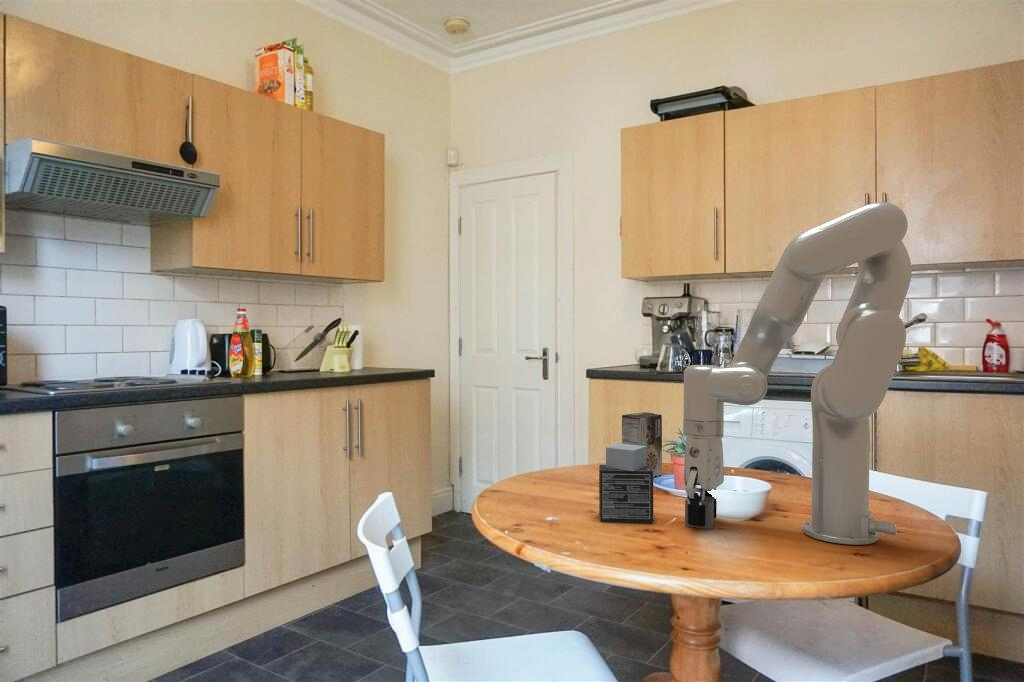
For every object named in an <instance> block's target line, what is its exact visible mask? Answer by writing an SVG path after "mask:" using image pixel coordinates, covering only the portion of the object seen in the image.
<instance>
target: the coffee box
mask: <svg viewBox="0 0 1024 682" xmlns="http://www.w3.org/2000/svg"><path fill="white" fill-rule="evenodd" d="M662 417H663V415H662V414H657V413H653V412H642V411H641V412H636V413H627V414H622V415H621V444H630V445H640V446H647V465H650V466H651V468H652V470H653V478H655V477H654V476H657V477H660V476H659V475H663V457H662V456H663V432H662V431H663V418H662Z"/></svg>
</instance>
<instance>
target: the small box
mask: <svg viewBox="0 0 1024 682" xmlns="http://www.w3.org/2000/svg"><path fill="white" fill-rule="evenodd" d="M598 466H599V467H598V469H599V471H598V472H599V475H598V478H599V480H598V493H599V494H598V496H599V497H598V498H599V499H598V501H599V503H598V505H599V507H598V509H599V513H598V515H599V516H598V517H599V522H600V523H618V524H619V523H624V524H625V523H627V524H632V523H633V524H654V523H655V519H654V477H653V470H652V468H651V466H650V465H647V466H646V467H643V468H640V469H638V470H635V471H629V470H621V469H613V468H606V464H599V465H598Z"/></svg>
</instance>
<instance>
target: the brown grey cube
mask: <svg viewBox="0 0 1024 682" xmlns="http://www.w3.org/2000/svg"><path fill="white" fill-rule="evenodd" d="M699 498H700V495H699ZM703 505H705V526H703V527H701V526H695V525H690V524H688V496H687V495H686V498H685V500H684V507H685V508H684V527H689V528H695V527H696V529H707V530H713V527H714V523H715V519H714V497H708V496H704V504H703Z"/></svg>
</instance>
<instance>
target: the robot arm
mask: <svg viewBox="0 0 1024 682" xmlns="http://www.w3.org/2000/svg"><path fill="white" fill-rule="evenodd" d="M907 231H908V219H907V215H906V214H905V212H904V211H903V209H902V208H900V207H899V206H898V205H897V204H894V203H892V202H887V201H876V202H871V203H869V204H866V205H864V206H862V207H859V208H857V209H855V210H853V211H850V212H847V213H846V214H843V215H842V216H839V217H837V218H834V219H832V220H830V221H827V222H825V223H822V224H819V225H817V226H815V227H813V228H811V229H808V230H806V231H803V232H801V233H799V234H797V235H796V236H795V237H794V238H793V239H792V240H791V241H790V242H789V243H788V244H787V245H786V247H785V249H784V250H783V252H782V254H781V256H780V258H779V260H778V263H777V264H776V267H775V269H774V271H773V272H772V275H771V277H770V279H769V281H768V283H767V285H766V287H765V290H764V291H763V294H762V295H761V297H760V300H759V301H758V304H757V305H756V307H755V310H754V312H753V313H752V316H751V319H750V322H749V324H748V326H747V329H746V331H745V333H744V336H743V337H742V340H741V341H740V344H739V345H738V347H737V350H736V352H735V354H734V356H733V358H732V360H731V362H730V364H729V366H728V367H721V366H719V365H713V364H710V365H709V364H693V365H688V366H687V367H685V369H684V371H683V426H682V427H683V428H682V429H683V431H682V432H683V434H682V436H683V437H686V439H685V440H686V441H685V448H684V449H685V450H684V463H683V464H684V465H683V466H684V467H683V480H684V486H685V492H686V497H687V496H688V524H690V525H695V526H701V527H703V526H705V505H703V504H704V496H708V497H712V495H711V494H709V493H708V492H707V491H711V490H712V489H714V490H718V489H717V488H718V487H719V486H721V485H723V483H724V481H725V468H724V466H725V465H724V463H725V462H724V448H723V439H722V438H724V432H725V431H724V426H725V425H724V424H725V423H724V420H725V418H724V417H725V416H724V413H725V412H724V408H725V407H724V406H725V405H724V403H726V404H727V403H728V404H732V405H738V406H752V405H756V404H757V403H758V404H759V402H761V401H763V399H764V397H765V396H766V394H767V391H768V386H769V385H768V381H767V378H768V376H769V374H770V372H771V370H772V368H773V366H774V364H775V362H776V360H777V359H778V357H779V355H780V353H781V351H782V350H783V348H784V346H785V345H787V343H788V341H790V340H791V339H792V337H794V336H795V334H796V333H797V331H798V330H799V328H800V327H801V326H802V325H803V321H804V319H805V317H806V315H807V313H808V311H809V309H810V307H811V305H812V303H813V301H814V299H815V296H816V295H817V293H818V291H819V289H820V287H821V286H822V283H823V281H824V279H825V277H826V276H827V275H829V274H831V273H834V272H836V271H839V270H842V269H844V268H847V267H850V266H852V265H855V264H856V263H857V266H858V273H857V278H856V281H855V284H854V286H853V289H852V293H851V296H850V298H849V300H848V302H847V305H846V307H845V310H844V311H843V314H842V316H841V319H840V321H839V322H838V325H837V327H836V331H835V340H836V345H837V346H838V347H837V351H836V352H835V356H834V357H833V360H832V362H831V364H830V365H828V366H825V367H823V368H822V369H820V370H819V371H818V373H817V374H816V375H815V377H814V378H813V381H812V384H811V388H810V402H811V403H810V405H811V418H812V419H811V420H812V451H811V458H812V460H811V520H808V521H804V522H803V523H802V532H803V533H804V534H805V535H806V536H808V537H810V538H813V539H816V540H819V541H824V542H827V543H833V544H840V545H841V544H842V545H850V546H851V545H852V546H853V545H855V546H857V545H858V546H859V545H860V546H862V545H863V546H864V545H871V544H874V543H877V541H878V540H879V533H884V534H886V535H892V536H897V533H898V529H897V528H898V527H897V524H896V523H892V522H891V521H889V520H880V519H879V520H878V519H876V517H873V514H874V513H873V511H872V510H870V453H871V433H870V432H871V431H870V419H869V417H871V416H872V415H874V414H875V413H876V412H877V411H878V409H879V407H880V406H881V404H882V403H883V401H884V399H885V397H886V394H887V392H888V390H889V387H890V386H891V383H892V380H893V377H894V375H895V372H896V371H897V367H898V365H899V363H900V360H901V358H902V356H903V353H904V350H905V347H906V342H907V330H906V327H905V324H904V322H903V320H902V318H901V317H900V314H901V312H902V309H903V308H904V307H903V306H904V303H905V300H906V297H907V294H908V291H909V288H910V286H911V280H912V275H913V274H912V269H913V268H912V263H911V258H910V255H909V253H908V250H907V247H906V245H905V244H904V242H903V240H904V238H905V236H906V234H907ZM696 486H699V487H696ZM699 496H700V498H699ZM716 499H717V498H716ZM716 499H715V498H714V520H715V519H717V507H718V505H717V503H718V501H716Z"/></svg>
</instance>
